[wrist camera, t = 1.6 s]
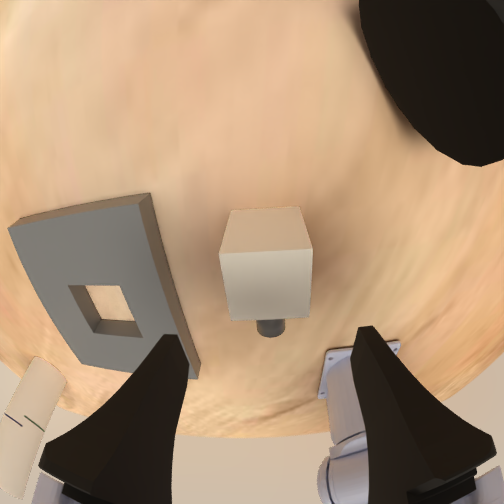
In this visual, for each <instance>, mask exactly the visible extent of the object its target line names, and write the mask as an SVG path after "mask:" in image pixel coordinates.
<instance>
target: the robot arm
mask: <svg viewBox="0 0 504 504" xmlns="http://www.w3.org/2000/svg"><path fill="white" fill-rule="evenodd" d="M400 346H401V343H400V341H393V342H387V343H386V342H385V341H384V339H383V338H382V337H381V335H380V334H379V333H378V331H377V330H376V329H375V328H374V327H373V326H365V327H358V331H357V335H356V338H355V342H354V346H353V347H351V348H343V349H334V350H329V351H327V352H326V355H325V361H324V366H323V371H322V376H321V381H320V386H319V391H318V398H319V399H325V398H326V401H327V408H328V416H329V424H330V433H331V438H332V441H333V443H334V445H335V446H333V447H330V448H329V450H330V456H327V457H326V458H325V459H324V460H323V462H322V464H321V465H320V467H319V470H318V476H317V485H318V492H319V496H320V499H321V501H322V503H323V504H504V481H503V477H502V473H501V468H500V466H497V467H495V468H493V469H492V470H490V471H488V472H487V473H485V474H484V475H482V476H480V477H478V478H475V479H474V476H475V475H476V474H477V470H476V467H478V466H480V465H481V464H483V463H484V462H486V461H488V460H489V459H491V458H492V457H494V456H495V455H496V453H497V452H496V449H495V445H494V442H493V439H492V436H491V435H489V434H487V433H485V432H483V431H481V430H479V429H478V428H476V427H474V426H472V425H471V424H469V423H468V422H466V421H464V420H463V419H461V418H460V417H459V416H457V415H456V414H454V413H453V412H452V411H451V410H449V409H448V408H447V407H446V406H444V405H443V404H442V403H441V402H440V401H438V400H437V399H436V398H435V397H434V396H433V395H432V394H431V393H430V392H429V391H428V390H427V389H426V388H425V387H424V386H423V385H422V384H421V383H420V382H419V381H418V380H417V379H416V378H415V377H414V376H413V375H412V374H411V372H410V371H409V370H408V369H407V368H406V367H405V365H404V364H403V363H402V362H401V361H400V359H399V358H398V357H397V356H396V355H397V353H398V351H399V348H400ZM189 365H190V364H189V362H188V359H187V357H186V354H185V352H184V350H183V347H182V345H181V342H180V340H179V337H178V335H177V334H163V335H162V337H161V338H160V339H159V341H158V342H157V343H156V344H155V346H154V347H153V348H152V350H151V351H150V352H149V354H148V355H147V356H146V358H145V359H144V360H143V361H142V363H141V364H140V365H139V366H138V368H137V369H136V370H135V371H134V373H133V374H132V375H131V376H130V377H129V378H128V380H127V381H126V382H125V383H124V384H123V385H122V386H121V388H120V389H119V390H118V391H117V392H116V393H115V394H114V395H113V396H112V397H111V398H110V399H109V400H108V401H107V402H106V403H105V404H104V405H103V406H101V407H100V408H99V409H98V410H97V411H96V412H94V413H93V414H92V415H91V416H90V417H88V418H87V419H86V420H85V421H83V422H82V423H80V424H79V425H77V426H76V427H74V428H73V429H71V430H70V431H68V432H67V433H65V434H63V435H61V436H60V437H57V438H56V439H54V440H52V441H50V442H48V443H46V445H45V447H44V450H43V453H42V456H41V459H40V462H39V465H38V466H39V467H40V468H41V469H42V470H44V471H45V472H47V473H49V474H51V475H52V476H54V477H56V478H58V479H59V480H61V481H63V482H64V484H63V483H61V482H59V481H57V480H55V479H53V478H51V477H49V476H47V475H46V474H44V473H42V472H41V473H40V475H39V478H38V482H37V485H36V489H35V492H34V496H33V500H32V504H172V495H171V493H172V492H171V482H172V479H171V478H172V460H173V448H174V440H175V433H176V428H177V424H178V420H179V416H180V412H181V408H182V404H183V400H184V396H185V392H186V388H187V382H188V374H189Z"/></svg>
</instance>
